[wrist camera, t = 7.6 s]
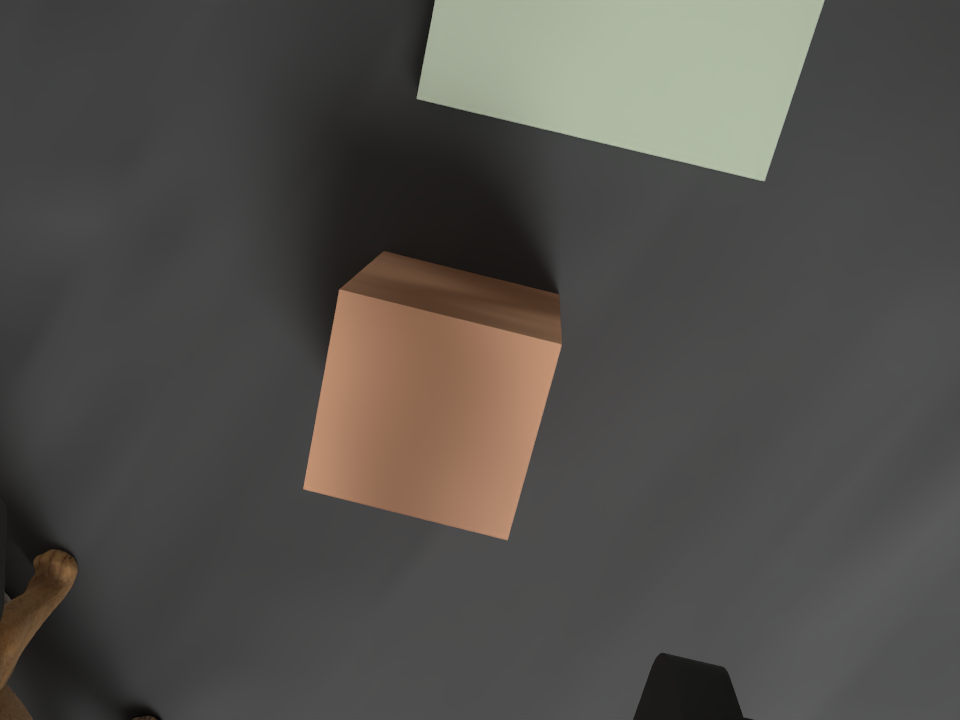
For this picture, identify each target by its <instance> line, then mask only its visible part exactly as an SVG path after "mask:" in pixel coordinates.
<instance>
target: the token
mask: <svg viewBox="0 0 960 720" xmlns="http://www.w3.org/2000/svg"><path fill="white" fill-rule="evenodd" d="M561 346H562V337H561V319H560V300H559V294H556V293H552V292H547V291H543V290H539V289H535V288H531V287H527V286H523V285H519V284H515V283H511V282H507V281H503V280H499V279H495V278H491V277H487V276H483V275H479V274H475V273H471V272H467V271H463V270H459V269H455V268H451V267H447V266H443V265H439V264H434V263H430V262H426V261H422V260H418V259H414V258H410V257H406V256H402V255H398V254H394V253H390V252H386V251H383V252H382V253H381V254H380V255H379V256H377V257H376V258H375V259H374V260H373V261H372V262H371V263H369V264H368V265H367V266H366V267H365V268H364V269H362V270H361V271H360V272H359V273H358V274H357V275H355V276H354V277H353V278H352V279H351V280H350V281H348V282H347V283H346V284H345V285H344V286H343V287H341V288H340V289H339V294H338V299H337V305H336V311H335V316H334V322H333V327H332V333H331V338H330V344H329V349H328V355H327V360H326V366H325V372H324V377H323V383H322V388H321V394H320V399H319V405H318V410H317V416H316V422H315V427H314V433H313V438H312V444H311V449H310V455H309V460H308V466H307V472H306V477H305V483H304V488H303V489H305V490H309V491H313V492H317V493H321V494H325V495H329V496H333V497H337V498H341V499H345V500H349V501H353V502H357V503H361V504H365V505H369V506H373V507H377V508H381V509H385V510H389V511H393V512H397V513H401V514H405V515H409V516H413V517H417V518H421V519H425V520H429V521H433V522H437V523H441V524H445V525H449V526H453V527H457V528H461V529H465V530H469V531H473V532H477V533H481V534H485V535H489V536H493V537H497V538H501V539H505V540H508V536H509V533H510V529H511V525H512V522H513V518H514V515H515V511H516V508H517V504H518V500H519V497H520V493H521V490H522V486H523V482H524V479H525V475H526V472H527V468H528V464H529V461H530V457H531V454H532V450H533V446H534V443H535V439H536V436H537V432H538V429H539V425H540V421H541V418H542V414H543V411H544V407H545V403H546V400H547V396H548V393H549V389H550V385H551V382H552V378H553V375H554V371H555V367H556V364H557V360H558V357H559V353H560V349H561Z"/></svg>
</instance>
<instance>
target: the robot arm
mask: <svg viewBox="0 0 960 720" xmlns="http://www.w3.org/2000/svg"><path fill="white" fill-rule="evenodd" d="M6 544H7V508H6V505H5V503H4V501H3V500H2V499H1V498H0V621H1V618H2V615H3V610H4V599H5V571H6ZM633 720H752V719H748V718H744V717H743V715H742V712H741V709H740V706H739V703H738V700H737V697H736V694H735V691H734V688H733V685H732V682H731V679H730V677H729V674H728V672H727V671H726V669H725V668H724V667H721V666H717V665H713V664H709V663H704V662H700V661H696V660H691V659H687V658H683V657H678V656H674V655H670V654H665V653H661V654H659V655H658V656H657V658H656V659H655V661H654V663H653V665H652V668H651V670H650V673H649V676H648V679H647V682H646V685H645V688H644V690H643V693H642V696H641V699H640V702H639V705H638V707H637V710H636V713H635V716H634V719H633Z"/></svg>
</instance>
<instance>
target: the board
mask: <svg viewBox="0 0 960 720" xmlns="http://www.w3.org/2000/svg"><path fill="white" fill-rule="evenodd" d="M823 3H824V0H435V4H434V9H433V14H432V20H431V25H430V30H429V36H428V41H427V46H426V51H425V57H424V62H423V67H422V73H421V78H420V83H419V88H418V94H417V99H419V100H423V101H427V102H432V103H436V104H440V105H444V106H448V107H453V108H457V109H461V110H465V111H470V112H474V113H478V114H482V115H486V116H491V117H495V118H499V119H503V120H508V121H512V122H516V123H520V124H524V125H529V126H533V127H537V128H541V129H546V130H550V131H554V132H558V133H562V134H567V135H571V136H575V137H579V138H583V139H588V140H592V141H596V142H600V143H605V144H609V145H613V146H617V147H621V148H626V149H630V150H634V151H638V152H643V153H647V154H651V155H655V156H659V157H664V158H668V159H672V160H676V161H681V162H685V163H689V164H693V165H697V166H702V167H706V168H710V169H714V170H719V171H723V172H727V173H731V174H735V175H740V176H744V177H748V178H752V179H757V180H761V181H765V178H766V175H767V172H768V169H769V166H770V163H771V160H772V157H773V154H774V151H775V148H776V145H777V142H778V139H779V136H780V133H781V130H782V127H783V124H784V121H785V118H786V115H787V112H788V109H789V106H790V103H791V100H792V97H793V94H794V91H795V88H796V85H797V82H798V79H799V76H800V73H801V70H802V67H803V64H804V61H805V58H806V54H807V51H808V48H809V45H810V42H811V39H812V36H813V33H814V30H815V27H816V24H817V21H818V18H819V15H820V12H821V9H822V6H823Z"/></svg>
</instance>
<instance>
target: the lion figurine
mask: <svg viewBox="0 0 960 720" xmlns="http://www.w3.org/2000/svg"><path fill="white" fill-rule="evenodd" d="M33 566H34V569H35V575H34V576H33V577H32V579H31V580H30V581H29V584H28V586H27V589H26V591H25V592H24V593H23V594H22V595H20V596H18V597H16V598H14V599H12V600H11V599H10V597H9V596H8V595H7V594H6V593H5V599H4V610H3V615H2V618H1V621H0V720H33V719H32V717H31V715H30V714H29V712H28V711H27V709H26V708H25V706H24V705H23V704H22V702H21V701H20V700H19V698H18V697H17V696H16V695H15V694H14V692H13V691H12V690H11V688H10V687H9V686H8V685H7V684H6V683H7V681H8V680H9V678H10V676H11V674H12V672H13V670H14V667H15V665H16V663H17V661H18V659H19V657H20V655H21V653H22V652H23V650H24V648H25V647H26V646H27V644H28V643H29V642H30V640H31V639H32V637H33V636H34V635H35V633H36V632H37V630H38V629H39V628H40V626H41V625H42V624H43V623H44V621H45V620H46V619H47V618H48V616H49V615H50V614H51V613H52V612H53V610H54V609H55V608H56V607H57V606H58V605H59V603H60V602H61V601H62V600H63V599H64V597H65V596H66V594H67V593H68V592H69V590H70V589H71V587H72V585H73V583H74V580H75V578H76V576H77V572H78V569H77V563H76V561H75V559H74V557H72V556H71V555H69V554H68V553H66V552H64V551H61V550H56V549H51V550H48V551H47V552H45V553H44V554H41V555H38V556H37V557H36V558H35V559H34V561H33ZM132 720H157V719H155V718H154V717H152V716H143V717H136V718H134V719H132Z"/></svg>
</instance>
